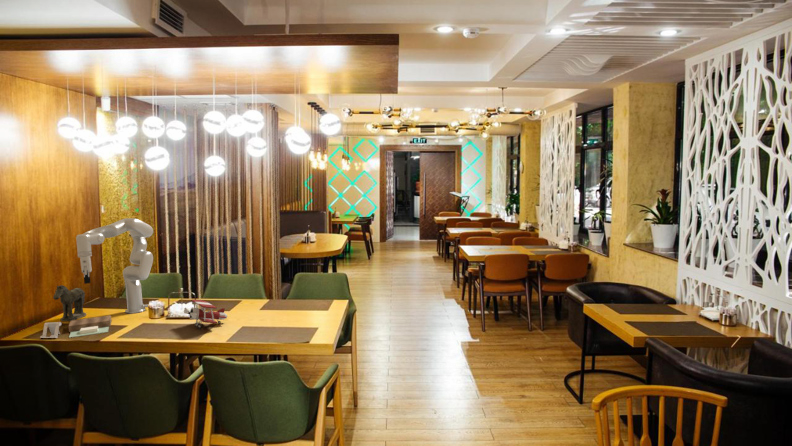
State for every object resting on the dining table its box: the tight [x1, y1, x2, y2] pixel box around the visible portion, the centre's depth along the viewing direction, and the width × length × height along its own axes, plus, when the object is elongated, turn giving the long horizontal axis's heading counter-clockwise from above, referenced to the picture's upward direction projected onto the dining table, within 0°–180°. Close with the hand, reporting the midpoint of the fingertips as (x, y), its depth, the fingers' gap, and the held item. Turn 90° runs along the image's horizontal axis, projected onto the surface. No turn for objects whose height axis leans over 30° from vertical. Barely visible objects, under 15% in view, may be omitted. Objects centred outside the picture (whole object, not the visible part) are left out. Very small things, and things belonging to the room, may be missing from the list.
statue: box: [52, 284, 87, 322], centre depth 343 cm, size 25×10×25 cm, turn 169°
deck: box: [68, 315, 112, 333], centre depth 326 cm, size 22×14×4 cm, turn 117°
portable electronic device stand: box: [39, 321, 62, 339], centre depth 307 cm, size 9×8×8 cm
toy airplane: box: [183, 299, 228, 329], centre depth 320 cm, size 27×23×15 cm
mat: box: [68, 327, 110, 339], centre depth 314 cm, size 20×12×1 cm, turn 117°
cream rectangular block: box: [80, 326, 98, 334], centre depth 315 cm, size 9×6×2 cm, turn 116°
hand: (87, 283), depth 327 cm, fingers closed
